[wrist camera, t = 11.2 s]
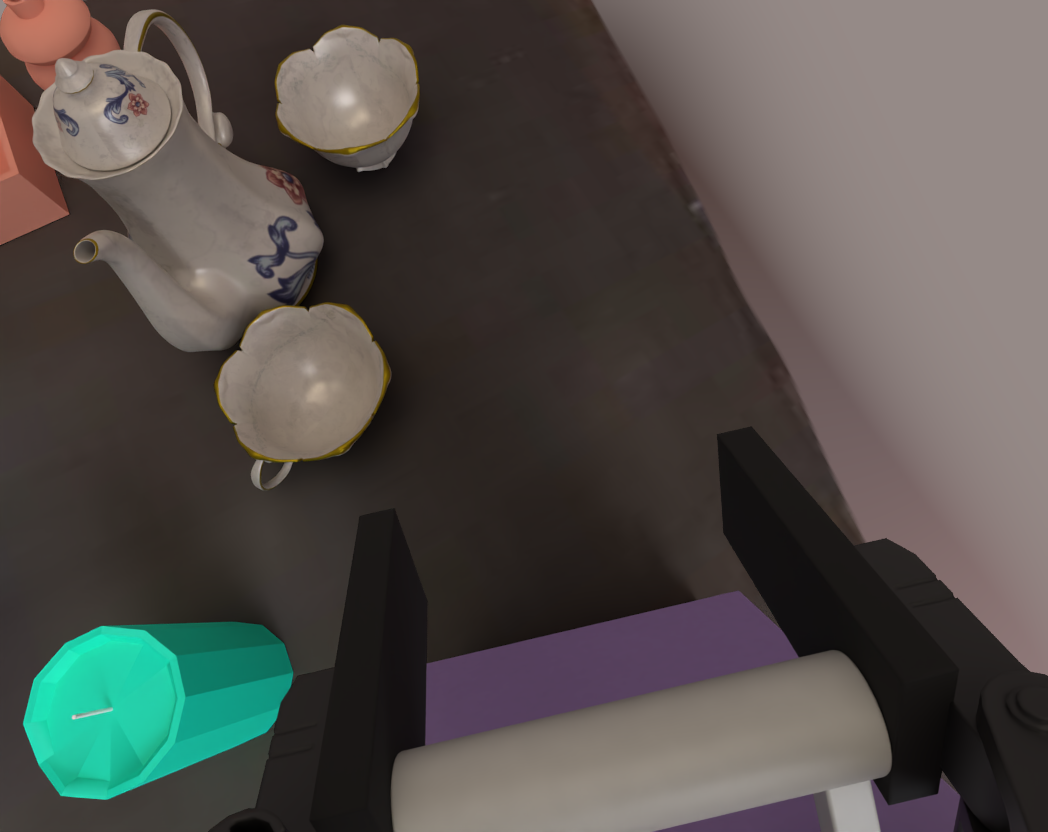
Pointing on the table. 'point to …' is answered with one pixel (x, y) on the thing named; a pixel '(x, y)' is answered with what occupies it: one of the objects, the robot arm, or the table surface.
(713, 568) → the table surface
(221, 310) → the chinaware
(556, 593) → the table surface
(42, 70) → the pottery
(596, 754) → the lid
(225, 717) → the candle
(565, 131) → the table surface
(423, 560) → the table surface
